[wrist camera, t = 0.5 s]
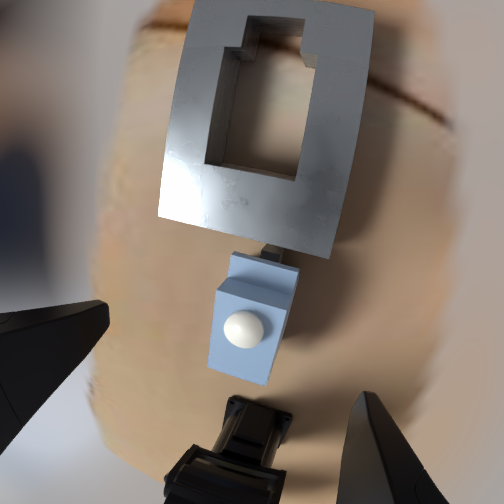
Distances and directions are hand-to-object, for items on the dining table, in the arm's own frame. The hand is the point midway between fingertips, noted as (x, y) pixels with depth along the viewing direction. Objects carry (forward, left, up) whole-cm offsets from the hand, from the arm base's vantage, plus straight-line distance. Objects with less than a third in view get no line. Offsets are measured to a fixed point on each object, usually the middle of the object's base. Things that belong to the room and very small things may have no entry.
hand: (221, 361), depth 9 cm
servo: (-5, +1, -12) cm, 13 cm away
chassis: (+8, +3, -12) cm, 15 cm away
